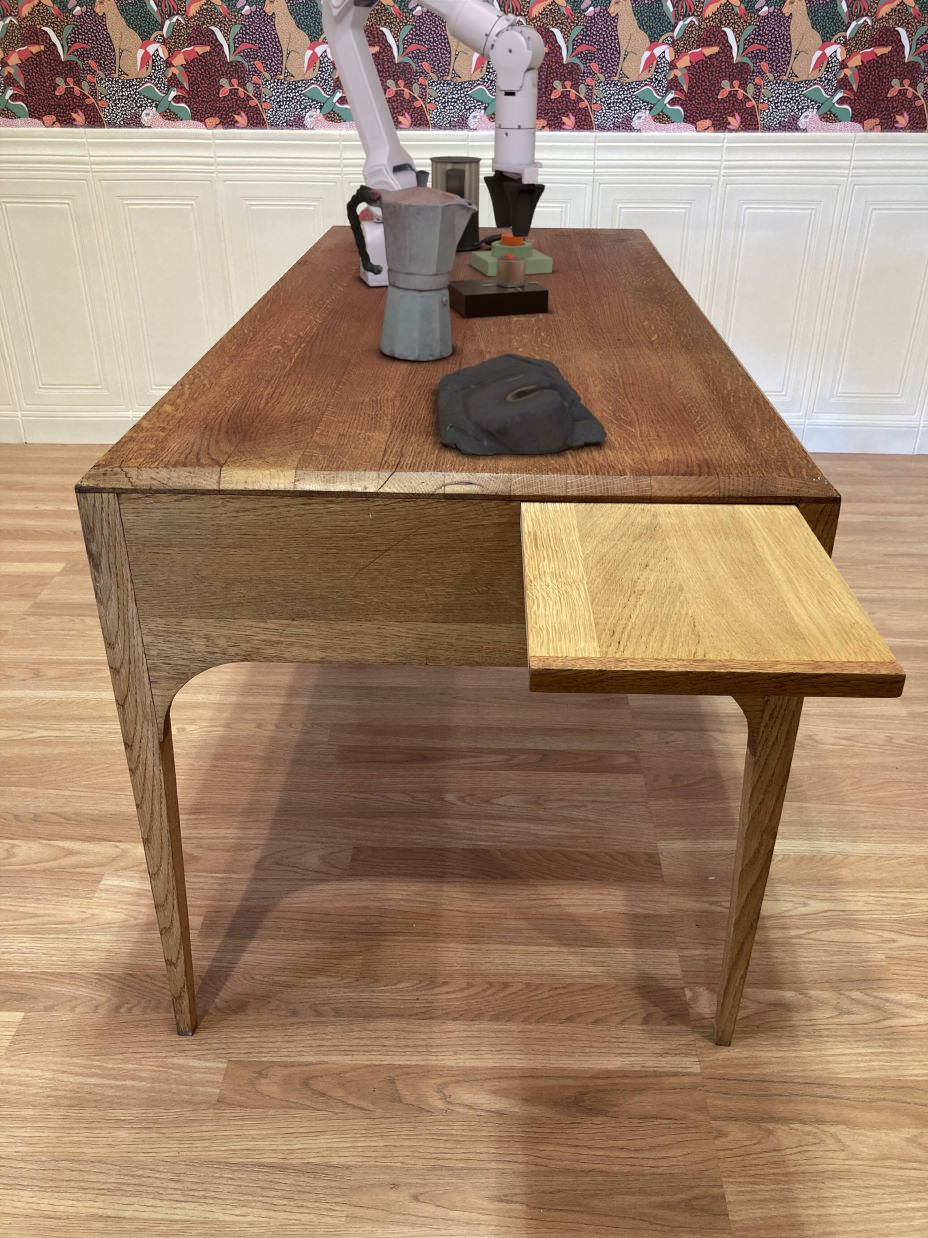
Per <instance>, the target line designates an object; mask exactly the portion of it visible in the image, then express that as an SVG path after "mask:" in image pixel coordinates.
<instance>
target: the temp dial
mask: <svg viewBox="0 0 928 1238" xmlns="http://www.w3.org/2000/svg"><path fill="white" fill-rule="evenodd" d="M525 267H526V258H525V257H522V256H513V255H511V254H509V253H505V256H500V257H497V274H496V276H495V279H496V284H497V285H498V286H501V287H521V286H524V285H525V277H526V274H525Z"/></svg>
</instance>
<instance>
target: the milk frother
mask: <svg viewBox="0 0 928 1238" xmlns="http://www.w3.org/2000/svg"><path fill="white" fill-rule="evenodd" d="M429 160H430V163H431V164H430V167H431V170H430V171H431V175H430V176H431V178H430V179H431V184H430V185H431V187H430V188H434V189H437V190H441V191H444V192H448V193H451V194H455V195H458V196H459V197H460V198H463V199H466V200H469V201H471V202H472V204H474V205H476V207H477V209H478V211H475V212H474V213H473V214H472V216H471V217H470V219H469V221H468V224H467V226H466V228H465V230H464V232H463V234H462V237H461V239H460V240H459V242H458V244H457V247H456V251H471V250H475V249H479V248H480V247H482V246H481V245H483V244H484V245H485V246H487V247H491V245H492V243H493V242H495V241H501V235H502V234H503V233H499V234H492V235H490V236H487V237H484V238H483V239H481V240H480V179H481V178H480V176H481V175H480V170H481V169H480V167H481V165H480V164H481V161H482V158H481V157H477V156H464V155H458V156H457V155H455V156H451V155H445V156H444V155H443V156H433V157H429ZM525 239H526V237H523V241H526V240H525Z"/></svg>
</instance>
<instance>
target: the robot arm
mask: <svg viewBox="0 0 928 1238" xmlns="http://www.w3.org/2000/svg"><path fill="white" fill-rule="evenodd" d="M380 1H381V0H322V1H321V2H322V3H321V26H322V28H323V29H322V30H323V33H324V35H325V39H326V42H327V45H328V47H329V51H330V53H331V57H332V59H333V62H334V66H335V69H336V72H337V75H338V77H339V81H340V83H341V86H342V89H343V93H344V95H345V98H346V101H347V104H348V107H349V110H350V113H351V116H352V119H353V122H354V125H355V127H356V131H357V134H358V136H359V139H360V142H361V143H360V144H361V145H362V149H363V151H364V154H365V161H364V164H363V168H362V170H361V174H362V177H363V180H364V185H365V186H367V187H370V188H372V189H385V190H389V191H395V190H400V189H405V188H410V187H415V186H417V182H416V174H415V172H417V171H419V170H418V169H417V167H416V164H415V162H414V158H413V157H412V156H411V155H410V154H409V152H408V151H407V150H406V149H405V148H404V147H403V146H402V145H401V142H400V138H399V135H398V133H397V130H396V125H395V123H394V120H393V116H392V113H391V111H390V107H389V105H388V101H387V98H386V96H385V92H384V89H383V86H382V83H381V80H380V76H379V74H378V71H377V67H376V65H375V62H374V58H373V55H372V52H371V49H370V46H369V43H368V40H367V37H366V33H365V25H366V23H367V21H368V18H369V16H370V14H371V12H372V11H373V9H375V7H376V6H377V4H378V3H379V2H380ZM412 1H414V2H415V3H417V4H419V5H420V6H421V7H423V8H425V9H427V10H428V11H430V12H431V13H434V14H435V15H436V16H438V17H440V18H441V19H443V20H445V24H446V27H447V31H448V33H449V34H448V35H450V37H452V38H453V39H455V40H456V41H458V42H459V43H461V44H462V45H464V46H466V48H468V49H470V50H471V51H473V52H475V53H476V54H478V55H479V56H481V57H482V58H484V59H485V60H487V61H490V63H491V65H492V68H493V69H494V71H495V73H496V78H495V79H496V81H495V103H494V104H495V107H494V108H495V109H494V114H495V115H494V143H493V147H494V149H493V157H491V172H492V173H493V174H492V175H485V176H483V182H484V183H485V186H486V188H487V191H488V193H489V196H490V201H491V206H492V211H493V217H494V222H495V228H497V229H511V233H512V234H513V236H514V237H524V238H528V237H529V234H530V231H531V227H532V223H533V220H534V216H535V211H536V208H537V206H538V203H539V201H540V200H541V197H542V195H543V193H544V192H545V189H546V185H545V184H543V183H539V169H542V168H543V162H541V161H535V157H536V136H537V135H536V134H537V133H536V132H537V112H538V110H537V109H538V80H539V70H538V69H539V68H540V67H541V66H542V64H543V61H544V59H545V52H546V51H545V50H546V49H545V42H544V40H543V38H542V36H541V35H540V34H539V33H538V31H537V30H536V29H535V28H534V27H533V26H532V25H528V24H521V25H517V20H518V16H516V15H514V14H513V13H508V14H506V13H504V12H503V11H502V10H500V9H498V8H497V7H495V6H493V5H492V4H491V3H489V2H488V0H412ZM365 204H366V207H368V209H369V210H370V212H371V213H372V214H373V215H374V220H372V221H365V222H361V228H362V231H363V235H364V237H365V243H366V250H367V252H368V254H369V257H370V261H371V263H372V264H374V265H380V266H382V267H383V271H382V273H381V274H373V273H371V272H367V271H365V270H364V269H363V266H362V262H361V257H360V256H359V268H360V274H359V277H360V278H361V279H362V280H363V281H364V282H365V283H366V284H367V285H368V286H369V287H384V286H387V287H388V285H389V283H388V274H387V270H388V266H387V261H386V249H385V238H384V228H383V218H382V212H381V209H380V208H379V207H372V206H370V205H368V204H367V203H365Z"/></svg>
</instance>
